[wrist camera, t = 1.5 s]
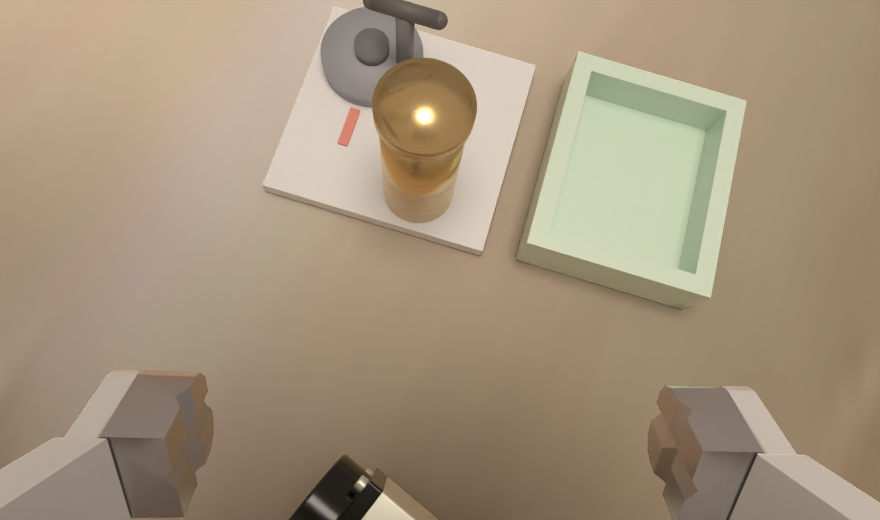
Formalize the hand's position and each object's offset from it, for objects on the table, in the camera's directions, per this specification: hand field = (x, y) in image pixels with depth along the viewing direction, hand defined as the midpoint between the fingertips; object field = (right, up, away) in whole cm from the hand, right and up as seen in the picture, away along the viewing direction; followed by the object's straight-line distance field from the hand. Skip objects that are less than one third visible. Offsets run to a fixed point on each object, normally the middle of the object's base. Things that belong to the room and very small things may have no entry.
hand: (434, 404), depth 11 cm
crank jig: (-2, +10, +26) cm, 28 cm away
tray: (+11, +7, +26) cm, 29 cm away
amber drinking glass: (-1, +7, +24) cm, 25 cm away
